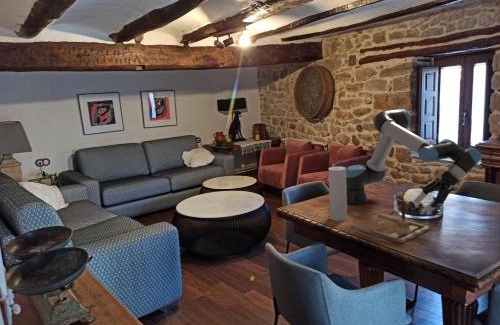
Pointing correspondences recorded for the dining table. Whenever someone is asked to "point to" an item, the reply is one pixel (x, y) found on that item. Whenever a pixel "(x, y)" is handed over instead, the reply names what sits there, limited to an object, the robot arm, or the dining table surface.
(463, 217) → the dining table surface
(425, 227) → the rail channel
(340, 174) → the cylinder container
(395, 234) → the tan wooden strip
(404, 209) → the hand bell
